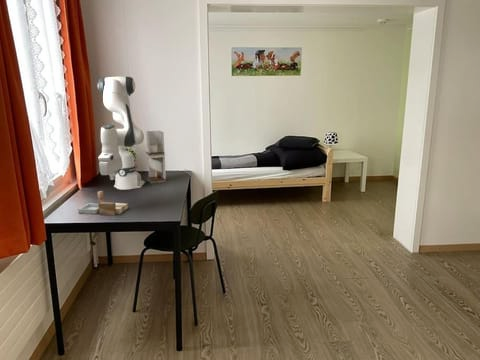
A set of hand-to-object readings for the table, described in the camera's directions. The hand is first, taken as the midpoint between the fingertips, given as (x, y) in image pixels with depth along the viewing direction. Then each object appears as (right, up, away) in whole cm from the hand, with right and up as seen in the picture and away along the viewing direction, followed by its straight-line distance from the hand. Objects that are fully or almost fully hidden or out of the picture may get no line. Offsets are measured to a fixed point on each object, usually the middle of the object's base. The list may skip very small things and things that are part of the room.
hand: (113, 179), depth 208 cm
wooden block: (+1, -18, -12) cm, 22 cm away
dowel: (-8, -15, +3) cm, 17 cm away
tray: (-9, -17, -6) cm, 20 cm away
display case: (+11, -1, +59) cm, 60 cm away
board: (+2, -17, -5) cm, 18 cm away
